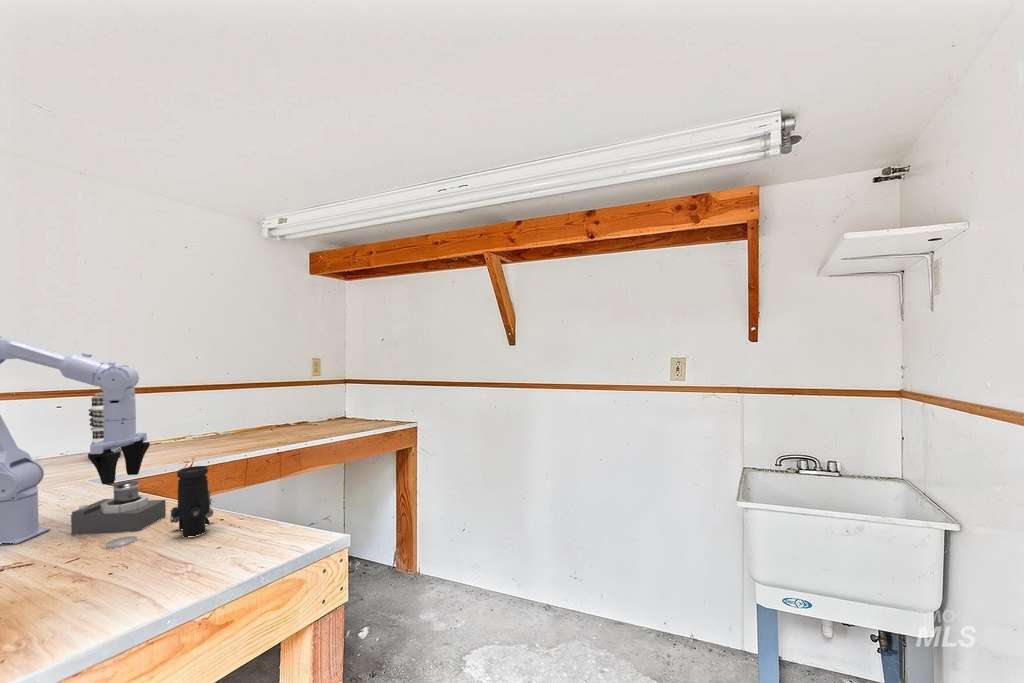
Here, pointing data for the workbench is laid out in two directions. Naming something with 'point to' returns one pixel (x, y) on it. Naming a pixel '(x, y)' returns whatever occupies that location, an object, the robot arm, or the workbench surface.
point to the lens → (126, 492)
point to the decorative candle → (98, 420)
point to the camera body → (116, 516)
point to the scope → (192, 501)
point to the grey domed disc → (121, 541)
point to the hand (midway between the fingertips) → (121, 479)
